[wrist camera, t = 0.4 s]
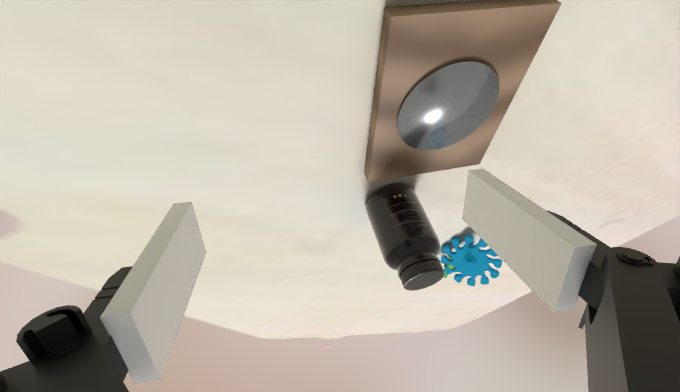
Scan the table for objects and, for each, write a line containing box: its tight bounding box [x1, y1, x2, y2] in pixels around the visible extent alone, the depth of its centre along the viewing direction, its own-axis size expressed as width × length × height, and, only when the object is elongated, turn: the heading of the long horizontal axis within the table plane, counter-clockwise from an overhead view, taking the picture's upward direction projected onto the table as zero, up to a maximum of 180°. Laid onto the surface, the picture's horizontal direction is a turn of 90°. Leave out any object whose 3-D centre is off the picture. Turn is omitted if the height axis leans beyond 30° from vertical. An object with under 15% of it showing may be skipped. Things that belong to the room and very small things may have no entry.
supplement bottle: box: [366, 184, 444, 290], centre depth 40 cm, size 7×7×12 cm
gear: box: [441, 235, 502, 286], centre depth 60 cm, size 11×6×10 cm
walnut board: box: [364, 0, 561, 182], centre depth 32 cm, size 18×14×2 cm
